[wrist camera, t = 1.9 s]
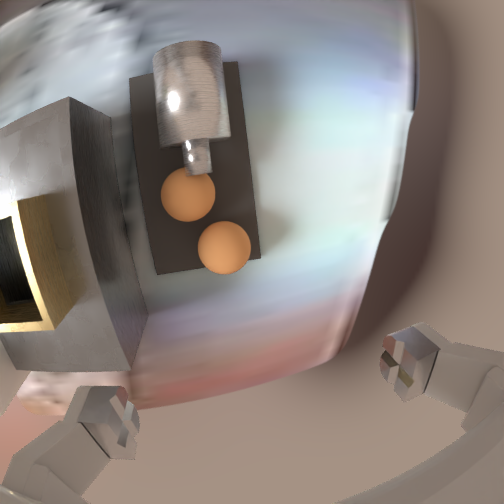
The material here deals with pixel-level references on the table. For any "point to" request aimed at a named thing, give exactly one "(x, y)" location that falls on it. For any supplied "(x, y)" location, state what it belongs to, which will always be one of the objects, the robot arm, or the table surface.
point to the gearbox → (65, 245)
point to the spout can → (191, 101)
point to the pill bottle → (9, 379)
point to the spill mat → (168, 160)
